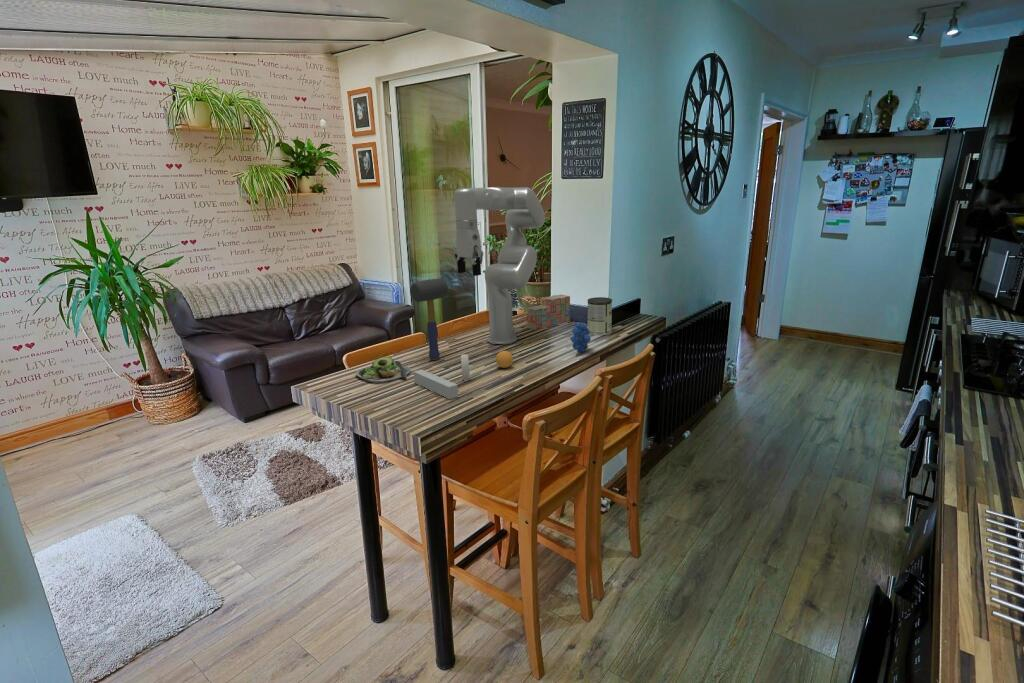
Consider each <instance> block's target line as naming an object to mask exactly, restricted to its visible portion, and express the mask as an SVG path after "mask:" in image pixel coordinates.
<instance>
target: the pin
mask: <svg viewBox="0 0 1024 683" xmlns="http://www.w3.org/2000/svg"><path fill="white" fill-rule="evenodd" d="M469 362H470V361H469V354H465V353H464V354H461V355H460V363H461V366H460V367H461V377H462V378H461V381H462V380H469V381H470V364H469Z"/></svg>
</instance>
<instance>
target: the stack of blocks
mask: <svg viewBox="0 0 1024 683" xmlns="http://www.w3.org/2000/svg"><path fill="white" fill-rule="evenodd" d="M569 322H571V295H566V294H554V295H551V296H550V295H549V296H546V297H541V304H539V305H535V306H529V307H526V325H527V326H526V328H528V329H531V330H534V331H537V330H538V331H539V330H541V329H546V328H549V327H550V328H551V327H554V326H557V325H561V324H565V323H569Z"/></svg>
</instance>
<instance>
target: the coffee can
mask: <svg viewBox="0 0 1024 683" xmlns="http://www.w3.org/2000/svg"><path fill="white" fill-rule="evenodd" d="M612 305H613V299H612V298H609V297H605V296H604V297H602V296H601V297H600V296H599V297H597V296H596V297H590V298H588V299H587V328H588V329H589V331H590V334H589V335H595V336H605V335H609V334H611V333H612V323H613V320H612V316H613V315H612V312H613V309H612V308H613V306H612Z"/></svg>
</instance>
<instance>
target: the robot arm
mask: <svg viewBox="0 0 1024 683" xmlns="http://www.w3.org/2000/svg"><path fill="white" fill-rule="evenodd" d="M453 194H454V195H453V196H454V197H453V201H454V214H455V215H454V216H455V229H456V232H455V247H454V248H453V252H454V256H455V261H456V265H457V266H456V267H457V273H458V274H463V273H466V272H467V268H466V267H467V266H466V259H468V260H469V259H471V261H472V276H473V277H479V276H481V275H482V261H483V259H484V258H483V257H484V254H485V253H484V251H483V250H482V241H481V234H480V230H479V229H478V226H479V225H478V210H484V211H485V210H486V211H504V210H505V211H506V213H505V216H504V217H505V220H504V221H505V228H506V233H507V236H506V239H505V241H504V243H503V245H502V247H501V249H500V251H499V253H498V255H497V263H492V264H490V265H488V266H487V267H486V269H485V271H484V280H485V284H486V289H487V296H488V321H489V323H488V324H489V336H487V337H486V342H487V343H488V342H489V343H488V344H490V343H491V344H490V345H495V344H504V345H509V344H510V345H511V344H513V343H516V342H517V340H518V337H517V336H516V335H517V334H519V333H522V331H523V330H522V328H521V327H518V328H515V327H514V324H513V323H514V322H513V321H514V320H513V317H514V316H513V297H512V295H511V293H510V290H512V289H513V290H521V289H524V288H525V287H526V286H527V284H528V282H529V280H530V278H531V276H532V273H533V271H534V269H535V268H536V264H537V260H538V254H537V250H536V249H535V248H534V247H533V246H532V245H527V238H526V236H525V234H524V233H523V232H522V230H521V229H539V228H542V227H543V225H544V224H545V222H546V215H545V214H546V213H545V212H544V209H543V206H542V205H541V204H542V203H541V202H540V199H539V198H538V196H537V194H536V192H535V191H534V190H533V189H532V188H530V187H527V186H526V187H523V186H522V187H519V186H518V187H503V186H501V187H500V186H493V187H492V186H491V187H490V186H489V187H463V188H457V189H455V190H454V193H453Z"/></svg>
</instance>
